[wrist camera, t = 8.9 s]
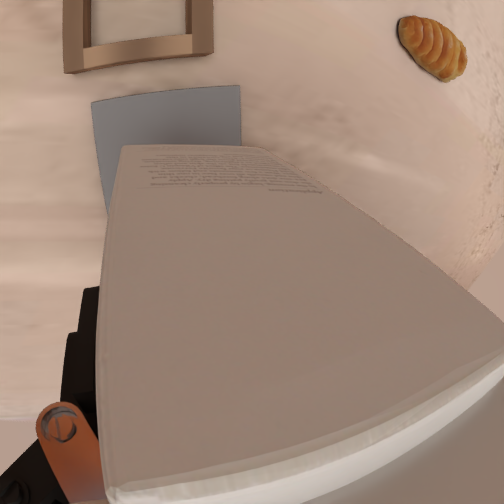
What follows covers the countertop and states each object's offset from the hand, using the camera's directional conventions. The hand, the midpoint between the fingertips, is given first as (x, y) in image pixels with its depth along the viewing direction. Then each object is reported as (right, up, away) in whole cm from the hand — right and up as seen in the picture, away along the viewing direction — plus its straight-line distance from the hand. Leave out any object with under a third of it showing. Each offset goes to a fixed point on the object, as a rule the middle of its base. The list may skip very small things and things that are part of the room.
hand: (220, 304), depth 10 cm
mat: (-6, +9, +16) cm, 19 cm away
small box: (-2, +3, +5) cm, 6 cm away
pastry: (+21, +25, +17) cm, 36 cm away
